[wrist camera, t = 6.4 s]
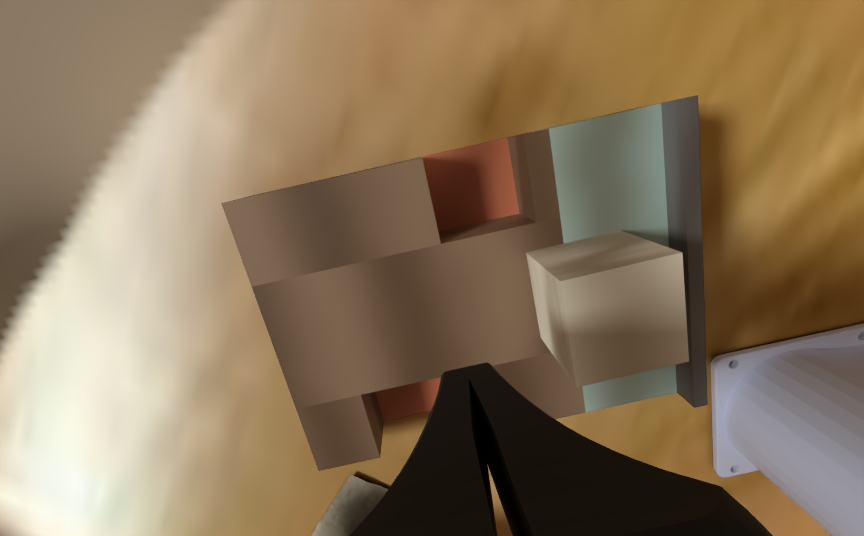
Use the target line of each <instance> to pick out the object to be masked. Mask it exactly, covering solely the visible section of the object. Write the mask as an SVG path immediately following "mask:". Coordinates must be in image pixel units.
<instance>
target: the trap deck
mask: <svg viewBox="0 0 864 536" xmlns="http://www.w3.org/2000/svg"><path fill="white" fill-rule="evenodd" d="M222 206H223V209H224V212H225V214H226V217H227V220H228V223H229V225H230V228H231V231H232V234H233V236H234V239H235V242H236V245H237V247H238V250H239V253H240V256H241V258H242V261H243V264H244V267H245V269H246V272H247V275H248V278H249V280H250V283H251V286H252V289H253V291H254V294H255V297H256V300H257V302H258V305H259V308H260V311H261V313H262V316H263V319H264V322H265V324H266V327H267V330H268V333H269V335H270V338H271V341H272V344H273V346H274V349H275V352H276V355H277V357H278V360H279V363H280V366H281V368H282V371H283V374H284V377H285V379H286V382H287V385H288V388H289V390H290V393H291V396H292V399H293V401H294V404H295V407H296V410H297V412H298V415H299V418H300V421H301V423H302V426H303V429H304V432H305V434H306V437H307V440H308V443H309V445H310V448H311V451H312V454H313V456H314V459H315V462H316V465H317V467H318V470H319V471H320V470H325V469H329V468H334V467H339V466H343V465H348V464H352V463H357V462H361V461H366V460H371V459H375V458H380V453H381V443H382V433H383V424H384V421H388V420H392V419H397V418H401V417H406V416H410V415H415V414H419V413H424V412H429V411H431V410H432V407H433V405H434V402H435V399H436V396H437V393H438V389H439V385H440V380H441V375H442V374H443V373H444V372H445V371H449V370H454V369H458V368H463V367H468V366H472V365H477V364H481V363H486V362H488V363H489V364H491V365H492V366H493V367H494V369H495V370H496V371H497V372H498V373H499V374H500V375H501V376H502V377H503V378H504V379H505V380H506V381H507V382H508V383H509V384H510V385H511V386H512V387H514V388H515V389H516V390H517V391H518V392H519V393H521V394H522V395H523V396H524V397H525V398H527V399H528V400H529V401H530V402H532V403H533V404H534V405H535V406H537V407H538V408H539V409H541V410H542V411H544V412H545V413H546V414H548V415H549V416H551V417H552V418H554V419H558V418H562V417H567V416H571V415H576V414H580V413H585V412H590V411H594V410H599V409H603V408H608V407H612V406H617V405H622V404H626V403H631V402H635V401H640V400H644V399H649V398H654V397H658V396H663V395H667V394H672V393H676V392H677V393H678V394H679V395H681V396H682V397H683V398H684V399H685V400H686V401H687V402H688V403H690V404H691V405H692V406H693V407H694V408H695V407H700V406H704V405H708V403H707V371H706V339H705V307H704V275H703V242H702V210H701V178H700V146H699V114H698V95H697V96H692V97H687V98H683V99H678V100H673V101H668V102H664V103H659V104H654V105H650V106H645V107H640V108H635V109H631V110H627V111H622V112H618V113H613V114H609V115H605V116H600V117H596V118H591V119H587V120H583V121H578V122H574V123H569V124H565V125H561V126H556V127H552V128H548V129H543V130H539V131H534V132H530V133H526V134H521V135H517V136H512V137H508V138H504V139H499V140H495V141H490V142H486V143H482V144H477V145H473V146H468V147H464V148H460V149H455V150H451V151H447V152H442V153H438V154H433V155H429V156H425V157H420V158H416V159H411V160H407V161H403V162H398V163H394V164H389V165H385V166H381V167H376V168H372V169H367V170H363V171H359V172H354V173H350V174H346V175H341V176H337V177H332V178H328V179H324V180H319V181H315V182H310V183H306V184H302V185H297V186H293V187H288V188H284V189H280V190H275V191H271V192H266V193H262V194H258V195H253V196H249V197H245V198H241V199H237V200H233V201H229V202H225V203H222ZM618 230H621V231H624V232H627V233H629V234H632V235H635V236H638V237H641V238H643V239H646V240H649V241H652V242H655V243H657V244H660V245H663V246H666V247H669V248H671V249H674V250H677V251H680V252H682V254H683V270H684V287H685V303H686V320H687V336H688V352H689V362H684V363H680V364H676V365H671V366H667V367H663V368H659V369H654V370H650V371H646V372H641V373H637V374H633V375H629V376H624V377H620V378H616V379H611V380H607V381H603V382H599V383H594V384H590V385H586V386H581V387H577V388H576V387H575V385H574V384H573V382H572V381H571V380H570V378H569V377H568V375H567V374H566V372H565V371H564V370H563V368H562V367H561V365H560V364H559V363H558V361H557V360H556V358H555V357H554V356H553V354H552V353H551V351H550V350H549V349H548V347H547V346H546V344H545V343H544V342H543V340H542V339H541V336H540V330H539V325H538V319H537V313H536V307H535V302H534V296H533V290H532V284H531V279H530V273H529V267H528V261H527V255H526V252H531V251H535V250H539V249H543V248H547V247H551V246H556V245H560V244H564V243H568V242H572V241H577V240H581V239H585V238H589V237H593V236H598V235H602V234H606V233H610V232H614V231H618Z"/></svg>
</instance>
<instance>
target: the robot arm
mask: <svg viewBox="0 0 864 536" xmlns="http://www.w3.org/2000/svg"><path fill="white" fill-rule="evenodd" d="M731 361H733V362H732V363H731V364H729V363H730V362H731ZM711 392H712V428H713V464H714V471H715V472H716V473H717V474H718V475H719V476H720V477H729V476H734V475H739V474H743V473H748V472H752V471H757V470H760V471H761V472H762V473H763V474H764V475H765V476H766V477H767V478H768V479H769V480H771V481H772V482H773V483H774V484H775V485H776V486H777V487H778V488H779V489H781V490H782V491H783V492H784V493H785V494H786V495H787V496H788V497H789V498H790V499H792V500H793V501H794V502H795V503H796V504H797V505H798V506H799V507H800V508H802V509H803V510H804V511H805V512H806V513H807V514H808V515H809V516H810V517H812V518H813V519H814V520H815V521H816V522H817V523H818V524H819V525H820V526H821V527H823V528H824V529H825V530H826V531H827V532H828V533H829V534H830V535H831V536H864V323H863V324H859V325H854V326H849V327H845V328H840V329H836V330H831V331H827V332H822V333H818V334H813V335H809V336H804V337H799V338H795V339H790V340H786V341H781V342H777V343H772V344H768V345H763V346H759V347H754V348H749V349H745V350H740V351H736V352H731V353H727V354H722V355H719V356H716V357H715V358H714V359H713V360H712V362H711ZM487 464H488V466H487ZM488 467H489V469H490V472H491V475H492V478H493V481H494V484H495V487H496V489H497V492H498V495H499V498H500V501H501V504H502V506H503V509H504V512H505V515H506V518H507V521H508V523H509V526H510V529H511V532H512V535H513V536H772V534H771V533H770V532H769V531H768V530H767V529H766V528H765V527H764V526H763V525H762V524H761V523H760V522H759V521H758V520H757V519H756V518H755V517H754V516H753V515H752V514H751V513H750V512H749V511H748V510H747V509H746V508H744V507H743V506H742V505H741V504H740V503H739V502H738V501H736V500H735V499H734V498H733V497H732V496H731V495H730V494H728V493H727V492H726V491H725V490H724V489H723V488H722V487H721V486H717V485H714V484H711V483H707V482H704V481H700V480H697V479H693V478H690V477H686V476H683V475H679V474H676V473H673V472H669V471H666V470H663V469H660V468H657V467H654V466H652V465H649V464H646V463H643V462H641V461H638V460H635V459H633V458H630V457H628V456H625V455H623V454H620V453H618V452H615V451H613V450H611V449H609V448H607V447H605V446H602V445H600V444H598V443H596V442H594V441H592V440H590V439H588V438H586V437H584V436H582V435H580V434H578V433H576V432H575V431H573V430H571V429H569V428H568V427H566V426H564V425H563V424H561V423H560V422H558V421H557V420H555V419H554V418H552V417H551V416H549V415H548V414H546V413H545V412H544V411H542V410H541V409H539V408H538V407H537V406H535V405H534V404H533V403H532V402H530V401H529V400H528V399H527V398H525V397H524V396H523V395H522V394H521V393H519V392H518V391H517V390H516V389H515V388H514V387H512V386H511V385H510V384H509V383H508V382H507V381H506V380H505V379H504V378H503V377H502V376H501V375H500V374H499V373H498V372H497V371H496V370H495V369H494V367H493V366H492V365H491V364H489V363H488V362H486V363H481V364H477V365H472V366H468V367H463V368H458V369H454V370H449V371H445V372H444V373H443V374H442V375H441V380H440V385H439V389H438V393H437V396H436V399H435V402H434V405H433V407H432V410H431V413H430V415H429V418H428V420H427V423H426V425H425V427H424V429H423V431H422V434H421V436H420V438H419V440H418V442H417V444H416V446H415V448H414V450H413V452H412V453H411V455H410V457H409V459H408V460H407V462H406V464H405V465H404V467H403V469H402V470H401V472H400V473H399V475H398V476H397V478H396V479H395V481H394V482H393V483H392V485H391V486H390V488H389V489H388V491H387V492H386V493H385V495H384V496H383V497H382V499H381V500H380V501H379V503H378V504H377V505H376V506H375V508H374V509H373V510H372V511H371V512H370V513H369V515H368V516H367V517H366V518H365V519H364V520H363V521H362V523H361V524H360V525H359V526H358V527H357V528H356V529H355V530H354V531H353V532H352V533H351V535H350V536H497V530H496V523H495V516H494V509H493V501H492V494H491V487H490V480H489V473H488Z"/></svg>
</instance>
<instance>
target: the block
mask: <svg viewBox="0 0 864 536" xmlns="http://www.w3.org/2000/svg"><path fill="white" fill-rule="evenodd" d="M526 255H527V261H528V267H529V273H530V279H531V284H532V290H533V296H534V302H535V307H536V313H537V319H538V325H539V330H540V336H541V339H542V340H543V342H544V343H545V344H546V346H547V347H548V349H549V350H550V351H551V353H552V354H553V356H554V357H555V358H556V360H557V361H558V363H559V364H560V365H561V367H562V368H563V370H564V371H565V372H566V374H567V375H568V377H569V378H570V380H571V381H572V382H573V384H574V385H575V387H576V388H577V387H581V386H586V385H590V384H594V383H599V382H603V381H607V380H611V379H616V378H620V377H624V376H629V375H633V374H637V373H641V372H646V371H650V370H654V369H659V368H663V367H667V366H671V365H676V364H680V363H684V362H689V352H688V336H687V320H686V303H685V287H684V270H683V254H682V252H680V251H677V250H674V249H671V248H669V247H666V246H663V245H660V244H657V243H655V242H652V241H649V240H646V239H643V238H641V237H638V236H635V235H632V234H629V233H627V232H624V231H621V230H618V231H614V232H610V233H606V234H602V235H598V236H593V237H589V238H585V239H581V240H577V241H572V242H568V243H564V244H560V245H556V246H551V247H547V248H543V249H539V250H535V251H531V252H526Z"/></svg>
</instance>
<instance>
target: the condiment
mask: <svg viewBox="0 0 864 536" xmlns="http://www.w3.org/2000/svg"><path fill="white" fill-rule="evenodd" d="M387 491H388V489H386V488H384V487H382V486H379V485H376V484H372V483H369V482H366V481H364V480H362V479H360V478H358V477H355V476H353V475H351V476H350V477H349V478H348V480H347V481H346V483H345V485H343V487H342V489H341V490H340V492H339V493H338V495H337V496H336V498H335V499H334V501H333V503H332V504H331V505H330V507H329V508H328V510H327V511H326V513H325V515H324V516H323V518H322V519H321V521H320V522H319V524H318V525H317V527H316V529H315V531H314V532H313V534H312V535H311V536H350V535H351V533H352V532H353V531H354V530H355V529H356V528H357V527H358V526H359V525H360V524H361V523H362V521H363V520H364V519H365V518H366V517H367V516H368V515H369V513H370V512H371V511H372V510H373V509H374V508H375V506H376V505H377V504H378V503H379V501H380V500H381V499H382V497H383V496H384V495H385V493H386V492H387Z"/></svg>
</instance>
